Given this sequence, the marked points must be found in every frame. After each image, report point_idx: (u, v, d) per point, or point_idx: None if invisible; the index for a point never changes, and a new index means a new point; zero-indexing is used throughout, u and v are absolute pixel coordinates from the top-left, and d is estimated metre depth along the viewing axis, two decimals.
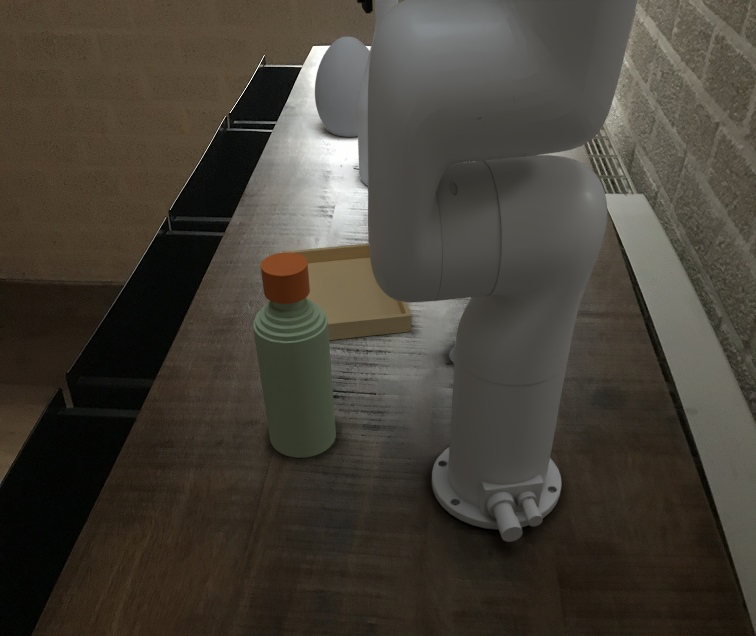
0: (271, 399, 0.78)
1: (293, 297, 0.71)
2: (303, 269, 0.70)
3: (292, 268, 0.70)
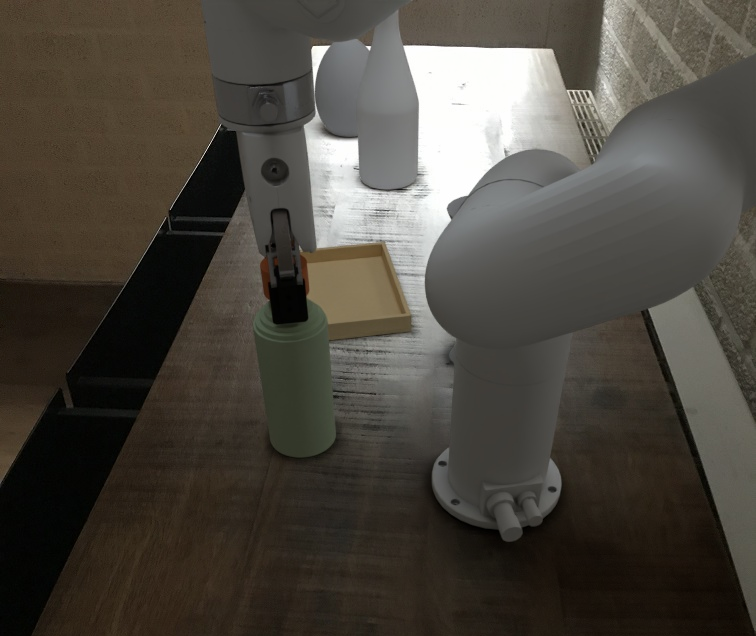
0: (271, 399, 0.78)
1: None
2: (302, 268, 0.70)
3: None
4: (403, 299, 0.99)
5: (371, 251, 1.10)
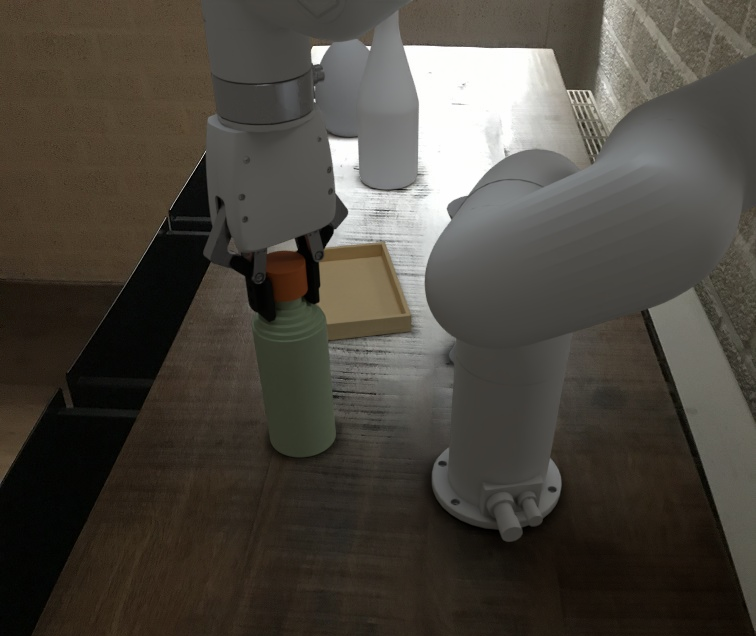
0: (270, 399, 0.78)
1: None
2: (283, 251, 0.72)
3: (286, 255, 0.71)
4: (403, 299, 0.99)
5: (371, 251, 1.10)
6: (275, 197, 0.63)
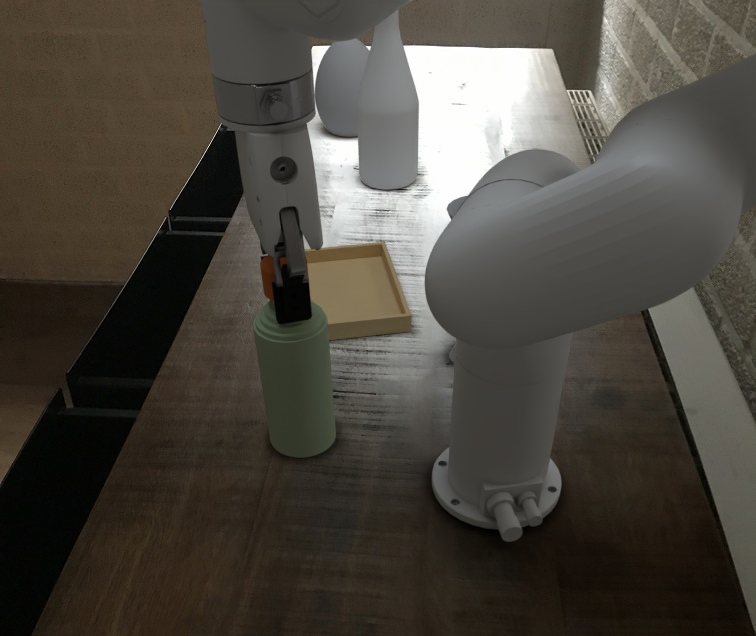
0: (271, 399, 0.78)
1: None
2: None
3: None
4: (403, 299, 0.99)
5: (371, 251, 1.10)
6: (242, 181, 0.66)
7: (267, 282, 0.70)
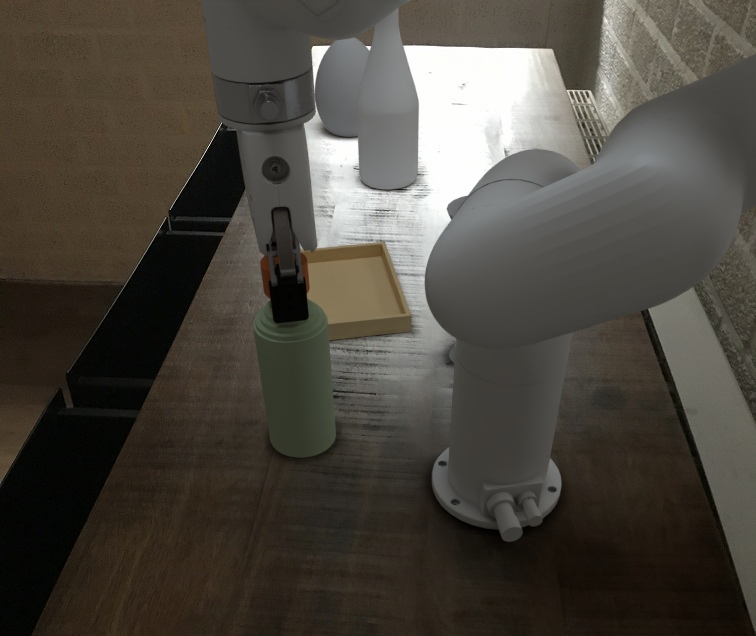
0: (271, 399, 0.78)
1: None
2: (262, 267, 0.70)
3: None
4: (403, 299, 0.99)
5: (371, 251, 1.10)
6: None
7: (305, 276, 0.70)
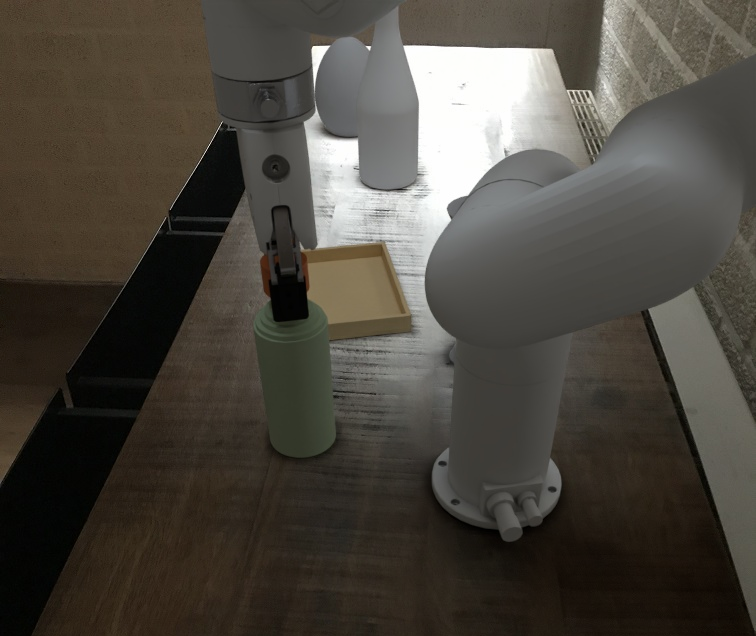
0: (271, 399, 0.78)
1: None
2: None
3: None
4: (403, 299, 0.99)
5: (371, 251, 1.10)
6: None
7: None
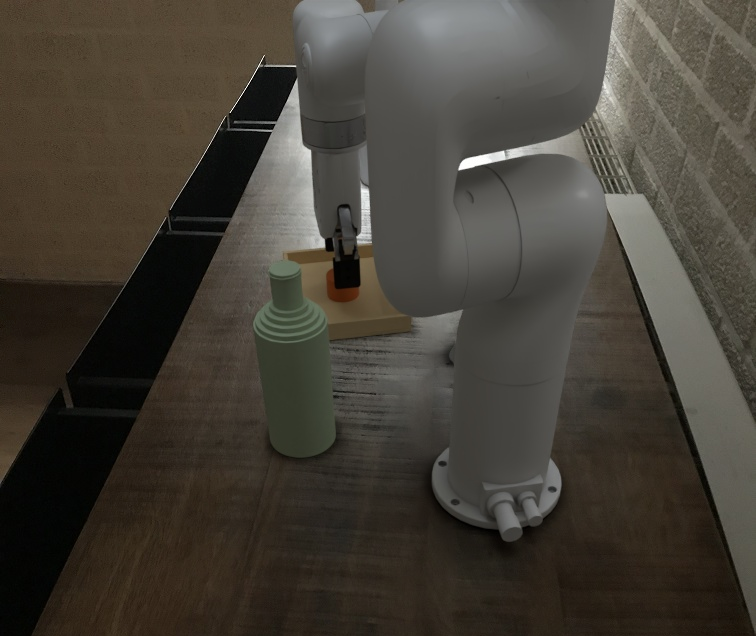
0: (271, 399, 0.78)
1: None
2: (329, 270, 1.03)
3: None
4: None
5: (371, 251, 1.10)
6: None
7: (343, 290, 1.01)
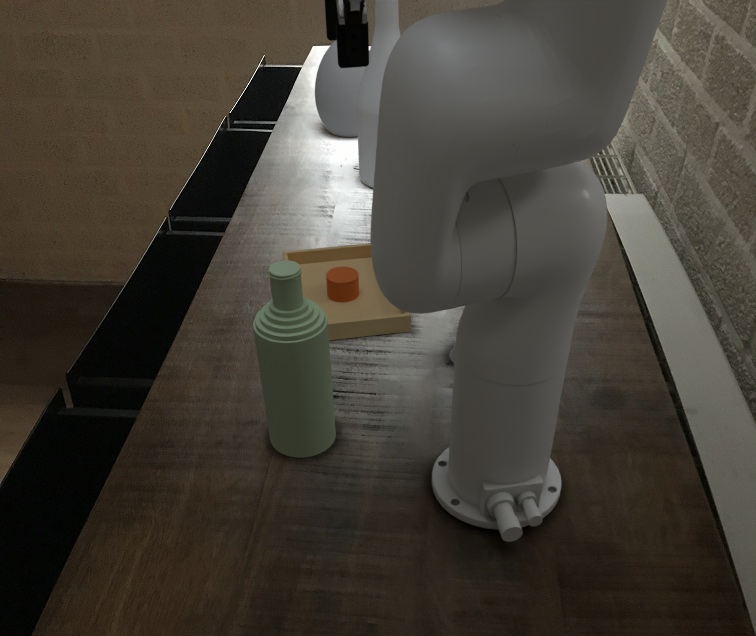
0: (271, 399, 0.78)
1: None
2: (329, 270, 1.03)
3: (336, 270, 1.02)
4: None
5: None
6: None
7: (343, 290, 1.01)
